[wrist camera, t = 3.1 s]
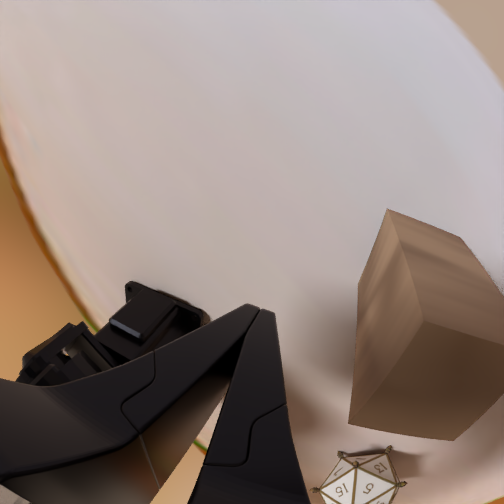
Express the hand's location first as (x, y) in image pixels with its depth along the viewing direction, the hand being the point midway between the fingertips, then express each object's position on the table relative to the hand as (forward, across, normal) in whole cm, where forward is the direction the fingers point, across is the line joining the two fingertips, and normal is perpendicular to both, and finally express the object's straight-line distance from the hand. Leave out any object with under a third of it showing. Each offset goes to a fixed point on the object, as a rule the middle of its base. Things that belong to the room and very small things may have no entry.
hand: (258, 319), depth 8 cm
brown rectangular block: (+8, -6, 0) cm, 10 cm away
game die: (+8, -13, +20) cm, 25 cm away
